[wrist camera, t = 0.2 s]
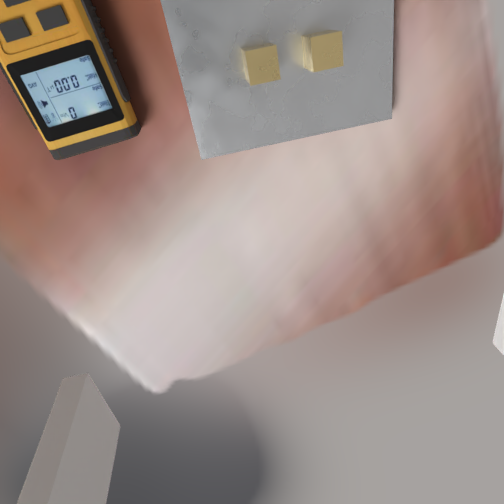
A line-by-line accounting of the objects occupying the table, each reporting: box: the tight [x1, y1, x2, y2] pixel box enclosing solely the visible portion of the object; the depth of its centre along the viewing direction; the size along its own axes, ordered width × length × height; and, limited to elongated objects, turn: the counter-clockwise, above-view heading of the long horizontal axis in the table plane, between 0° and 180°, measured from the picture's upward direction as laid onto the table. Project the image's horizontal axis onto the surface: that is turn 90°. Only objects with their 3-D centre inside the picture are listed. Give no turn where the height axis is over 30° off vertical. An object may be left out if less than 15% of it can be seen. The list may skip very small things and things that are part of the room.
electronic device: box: [0, 0, 141, 160], centre depth 29 cm, size 8×16×3 cm, turn 15°
